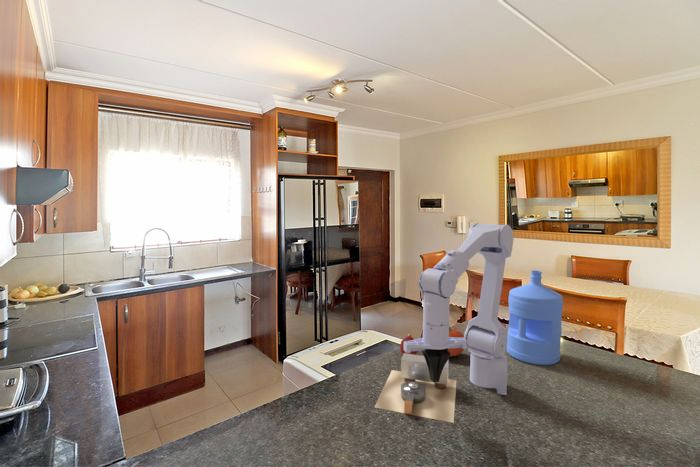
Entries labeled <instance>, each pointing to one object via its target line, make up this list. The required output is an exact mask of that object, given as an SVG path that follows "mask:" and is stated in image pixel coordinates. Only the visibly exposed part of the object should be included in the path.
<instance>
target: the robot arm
mask: <svg viewBox="0 0 700 467" xmlns="http://www.w3.org/2000/svg"><path fill="white" fill-rule="evenodd" d="M514 239H515V237H514V232H513V229H512V227H511V226H510V224H489V223H477V222H476V223H473V224H472V225H471V226H470V227H469V228H468V232H467V237H466V239H465V240H464V241H463V242H462V244H461V245H460V246H459V248H458V249H457V250H456V249H454V250H449V251H447V253H446V254H445V256H443V257H442V258H441V260H440V261H438V262H437V263H436V264H435V265H434V266H433V268H431V267H430V268H429V267H428V268H427V269H425V270H423V271H422V273H421V274H420V276H419V280H418V281H417V284H418V288H419V291H420V294H421V296H420V297H421V301H423V307H422V308H423V310H422V311H423V312H422V315H423V316H422V337H419V338H414V339H415V340H411V341H404V351H405V352H406V353H410V352H411V351H418V352H422V356H424V358H425V360H426V363H427V366H428V370H429V375H430V379H431V380H432V381H433V382H439V380H440V376H441V373H442V370H443V368H444V366H445V364H446V362H447V361H448V360H449V359H450V352H449V351H448V349H451V348H462V349H464V350H466V349H468V350H467V352H468V353H470V354H469V355H470V362H469V363H470V366H469V381H470V382H471V383H472V384H473V385H475V386H476V387H479V388H484V389H496V394H497V395H501V396H507V395H508V393H507V392H508V391H507V390H508V389H507V388H508V381H509V380H508V358H507V356H506V355H505V353H506V352H507V336H508V329H507V328H506V327H505V325H503V324H502V322H501V321H500V320H499V319H498V315H499V312H500V311H499V309H500V302H501V296H502V289H503V282H504V274H505V273H504V272H505V267H506V260H507V258H510V257H511V256H512V252H513V245H514V241H515V240H514ZM477 253H478V254H480V255H481V256H483V257H484V259H485V263H484V270H483V275H482V283H481V289H480V297H479V302H478V303H479V304H478V310H477V316H475V317H473V318H471V319H469V320H468V322H467V326H466V329H465V331H464V334H463V335H464V338H463V337H462V338H455V337H449V326H450V308H451V307H450V303H451V302H450V300H451V296H452V295H453V294H454V293H455V292H456V291H455V290H456V286H457V284H458V282H459V278H460V277H461V276H462V275H464V273H465V272H466V271H467V270H468V268H470V262H469V261H470V260H471V259H472V258H473V257H474V256H475V255H477Z"/></svg>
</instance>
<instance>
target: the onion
mask: <svg viewBox="0 0 700 467" xmlns="http://www.w3.org/2000/svg"><path fill="white" fill-rule="evenodd" d="M415 339H416V338H414V337H412V334H410V333H409V334H407V336H406V337H404V338H402V340H401V342H400V344H399V350H400V352H401V354H402V355H403V354H404V353H406V352H405V351H404V341H411V340H415ZM418 352H419V351H411V352H410V353H406V354H413V355H418V354H417V353H418Z"/></svg>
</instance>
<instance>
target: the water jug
mask: <svg viewBox="0 0 700 467" xmlns="http://www.w3.org/2000/svg"><path fill="white" fill-rule="evenodd" d="M542 273H543V272H542V271H540V270H530V276H529V278H530V282H529V283H527V284H524V285H519V286H517V287H514V288H511V289H510V290H509V294H508V299H507V300H508V312H509V317H508V329H507V348H506V352H507V353H508V354H509V356H511V357H513V358H514V359H516V360H517V361H521V362H523V363H527V364H532V365H537V366H550V365H554V364H557V363H559V361H560V359H561V341H562V340H561V339H562V338H561V337H562V330H563V329H562V321H563V320H562V319H563V309H564V302H563V299H564V298H563V296H562V294H560V293H558V292H557V291H555V290H553V289H551V288H549V287H547V286H546V285H543V284H542V278H543V277H542Z"/></svg>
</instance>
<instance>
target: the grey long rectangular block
mask: <svg viewBox="0 0 700 467" xmlns="http://www.w3.org/2000/svg"><path fill="white" fill-rule="evenodd" d="M449 364H450V363H449V359H448V361H447V362H446V364H445V366H444V368H443V370H442V373H441V376H440V380H439V382H433V381H432V380H431V379H430V375H429V370H428V366H427V363H426V360H425V358H424V355H419V354H416V355H413V354H406V353H404V354H402V356H401V358H400V371H401V377H403V378H409V379H415V380H421V381H427V382H433V383H439V384H445V385H447V383H448V379H449Z"/></svg>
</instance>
